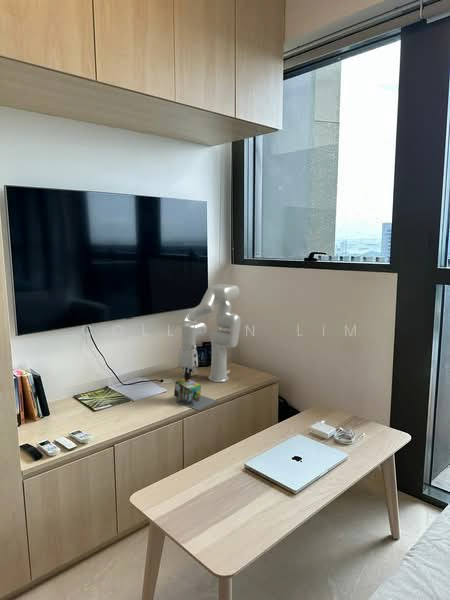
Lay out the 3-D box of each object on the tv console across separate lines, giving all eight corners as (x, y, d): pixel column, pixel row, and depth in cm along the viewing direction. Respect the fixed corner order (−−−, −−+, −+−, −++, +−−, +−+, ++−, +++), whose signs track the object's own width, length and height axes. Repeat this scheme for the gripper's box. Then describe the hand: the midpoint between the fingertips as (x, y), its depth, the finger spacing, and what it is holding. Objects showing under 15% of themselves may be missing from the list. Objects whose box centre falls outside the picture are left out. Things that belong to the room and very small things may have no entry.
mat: (195, 393, 228) (195, 391, 228) (217, 401, 219) (217, 399, 219) (176, 402, 215) (176, 400, 215) (198, 410, 206) (198, 408, 206)
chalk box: (185, 391, 226) (204, 403, 217) (173, 396, 219) (191, 408, 210) (187, 376, 224) (206, 387, 214) (175, 380, 217) (193, 392, 208)
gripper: (203, 348, 215) (202, 380, 218) (182, 342, 224) (182, 374, 227) (194, 350, 209) (193, 384, 212) (173, 345, 218) (173, 377, 221)
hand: (187, 379), depth 219 cm, fingers closed
